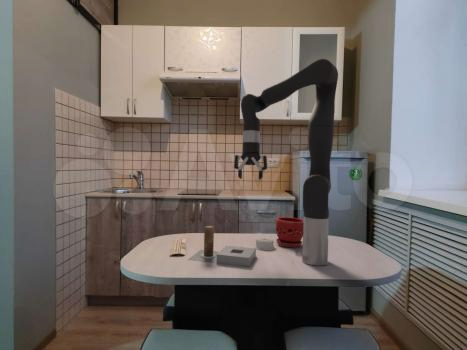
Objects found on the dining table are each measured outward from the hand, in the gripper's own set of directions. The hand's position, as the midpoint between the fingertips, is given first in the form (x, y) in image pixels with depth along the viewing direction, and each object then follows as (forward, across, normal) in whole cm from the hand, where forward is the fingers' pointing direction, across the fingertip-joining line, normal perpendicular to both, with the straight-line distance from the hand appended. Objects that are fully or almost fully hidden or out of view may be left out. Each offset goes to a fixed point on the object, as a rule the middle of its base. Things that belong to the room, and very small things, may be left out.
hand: (250, 179), depth 128 cm
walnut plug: (+29, -11, -20) cm, 37 cm away
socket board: (+30, -6, -20) cm, 37 cm away
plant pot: (+30, +17, +11) cm, 36 cm away
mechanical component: (+31, +7, 0) cm, 31 cm away
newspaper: (+31, -28, -10) cm, 43 cm away
